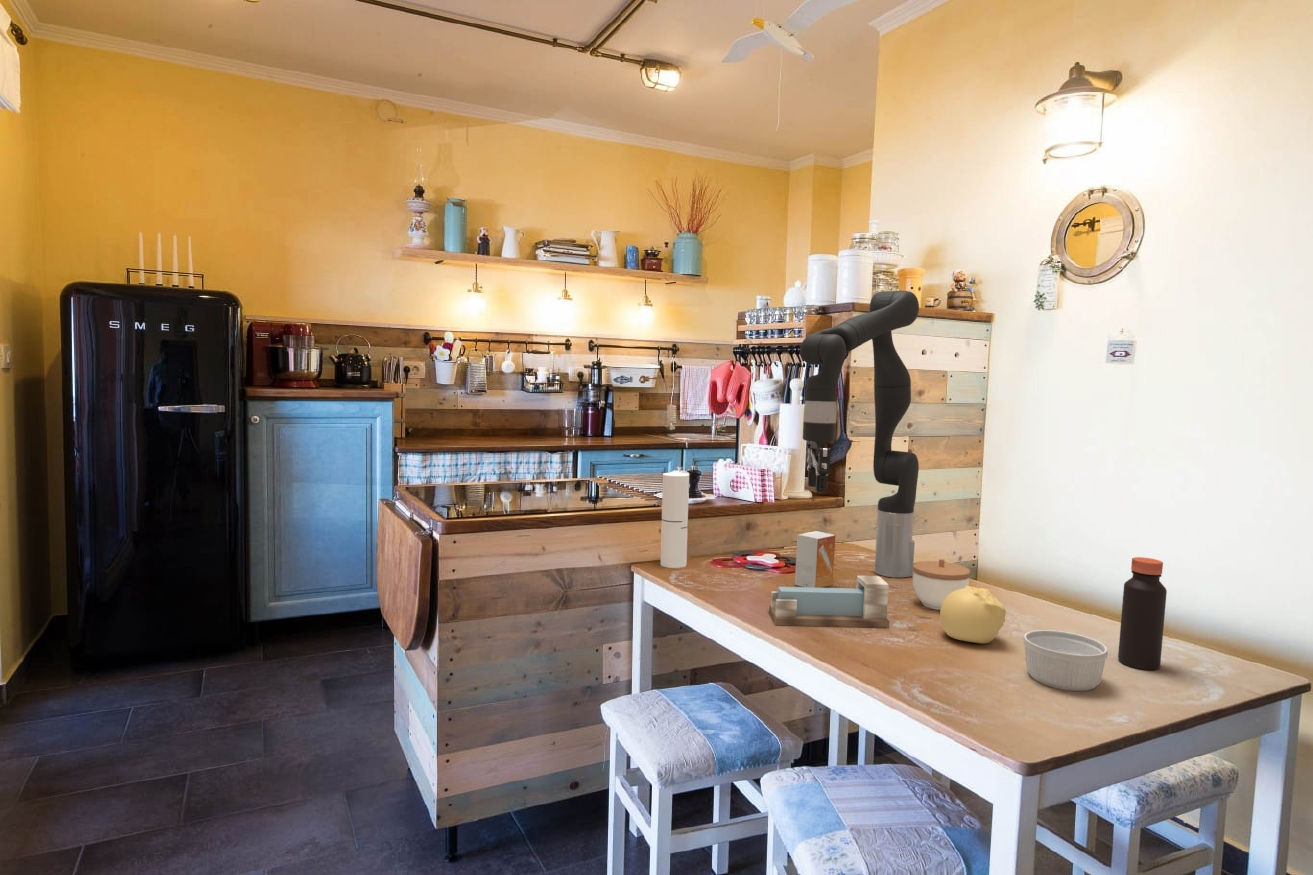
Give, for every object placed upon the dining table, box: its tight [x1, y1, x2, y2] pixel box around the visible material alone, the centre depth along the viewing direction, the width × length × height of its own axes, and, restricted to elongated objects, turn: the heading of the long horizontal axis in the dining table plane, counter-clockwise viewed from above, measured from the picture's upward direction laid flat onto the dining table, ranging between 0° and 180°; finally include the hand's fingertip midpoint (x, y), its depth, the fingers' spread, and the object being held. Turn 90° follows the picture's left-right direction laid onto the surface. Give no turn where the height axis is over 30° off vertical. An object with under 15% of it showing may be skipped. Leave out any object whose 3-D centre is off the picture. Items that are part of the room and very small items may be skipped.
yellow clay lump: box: [939, 585, 1007, 644], centre depth 155 cm, size 11×12×11 cm
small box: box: [794, 530, 836, 588], centre depth 192 cm, size 8×6×13 cm
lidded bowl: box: [912, 558, 971, 611], centre depth 177 cm, size 13×13×11 cm
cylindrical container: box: [660, 472, 690, 569], centre depth 208 cm, size 7×7×25 cm
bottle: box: [1117, 556, 1168, 671], centre depth 143 cm, size 7×7×20 cm
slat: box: [777, 586, 864, 616], centre depth 165 cm, size 20×4×5 cm, turn 91°
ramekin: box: [1022, 629, 1109, 692], centre depth 136 cm, size 13×13×7 cm
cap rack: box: [768, 575, 890, 629], centre depth 165 cm, size 24×9×9 cm, turn 91°
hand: (816, 489), depth 179 cm, fingers open, 8 cm apart
